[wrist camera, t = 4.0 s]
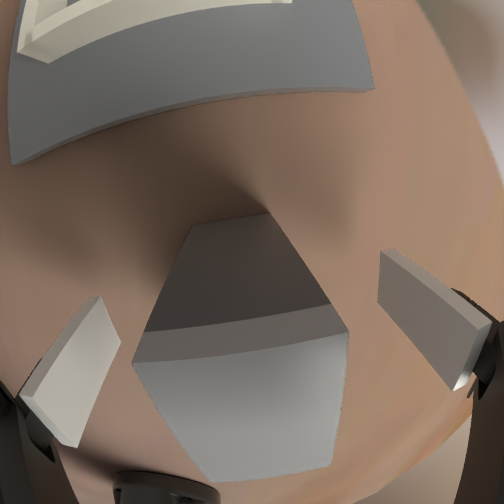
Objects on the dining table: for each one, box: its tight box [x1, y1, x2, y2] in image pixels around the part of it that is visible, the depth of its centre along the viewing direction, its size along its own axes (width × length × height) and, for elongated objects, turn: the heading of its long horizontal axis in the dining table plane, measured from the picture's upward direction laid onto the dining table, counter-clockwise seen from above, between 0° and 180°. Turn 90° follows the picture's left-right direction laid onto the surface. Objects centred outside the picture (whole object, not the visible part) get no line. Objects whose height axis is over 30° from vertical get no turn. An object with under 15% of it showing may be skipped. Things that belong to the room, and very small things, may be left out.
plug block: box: [131, 213, 349, 483], centre depth 10 cm, size 4×6×10 cm, turn 8°
